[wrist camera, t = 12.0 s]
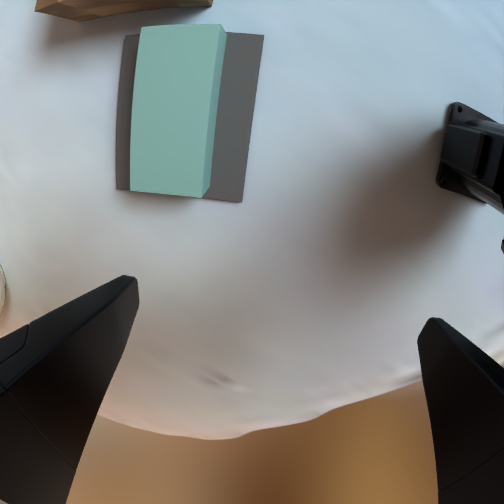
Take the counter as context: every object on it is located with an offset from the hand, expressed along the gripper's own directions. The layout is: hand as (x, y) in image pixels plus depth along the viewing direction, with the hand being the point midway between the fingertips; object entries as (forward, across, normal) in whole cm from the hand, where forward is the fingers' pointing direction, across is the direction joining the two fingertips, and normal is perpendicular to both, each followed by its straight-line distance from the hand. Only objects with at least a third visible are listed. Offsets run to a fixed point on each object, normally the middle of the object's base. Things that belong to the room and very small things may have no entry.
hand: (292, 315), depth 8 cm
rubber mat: (+12, +7, -4) cm, 15 cm away
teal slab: (+12, +7, -4) cm, 15 cm away
